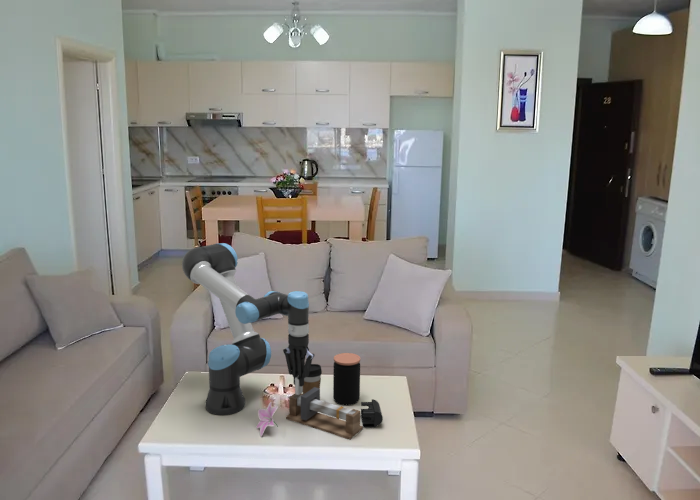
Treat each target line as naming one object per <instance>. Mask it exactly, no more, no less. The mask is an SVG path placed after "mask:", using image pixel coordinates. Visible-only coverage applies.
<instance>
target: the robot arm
mask: <svg viewBox="0 0 700 500" xmlns="http://www.w3.org/2000/svg"><path fill="white" fill-rule="evenodd" d="M238 260H239V259H238V254H237V252H236V251H235V249H234V247H232V246H231V244H230V245H229V244H228V243H224V242H222V243H213V244H209V245H204V246H197V247H194V248H191V249H190V250H188V251H187V252H186V253H185V254H184V255H183V257H182V261H181V263H182V264H181V267H182V268H181V269H182V271H183V273H184V275H185V277H186V278H188V280H189V281H191V282H192V283H193V284H196V285H198V284H199V285H200V286H202V287H203V288H204V289H205V290H208V292H210V293H211V294H213V295H214V296H215V297H217V298H218V299H219V301H220V305H221V307H222V309H223V310H222V311H223V313H224V314H225V317H226V321H227V324H228V326H229V329H230V332H231V334H232V338H233V339H232V341H231V344H221V345H219V346H217V347H215V348H213V349H211V351H210V352H209V353H208V360H207V361H208V362H207V366H208V382H209V383H208V384H209V389H208V392H207V396H206V400H205V402H204V403H205V410H206V411H207V412H208V413H210V414H212V415H216V416H217V415H218V416H229V415H234V414H237V413H238V412H240V411H242V410H243V409H244V408H245V405H246V398H245V395H244V393H243V391H242V388H241V377H243V376H245V375H248V374H251V373H253V372H256V371H259V370H261V369H263V368H265V367H267V365H268V364H269V363H270V361H271V358H272V348H271V345H270V343H269V341H268V340H267V339H266V338H264V337H261V335H260V333H259V332H256V330H254V326H253V325H252V324H253V323H255V322H258V321H260V320H263V319H266V318H270V317H272V316H276V315H283V316H286V317H287V324H288V325H287V328H288V329H287V331H288V332H287V333H288V335H287V340H288V346H287V347H286V348H284V349H282V351H283V354H284V355H285V359H286V360H285V361H286V366H287V371H288V374H289V375H290V376H292V377H293V385H294V394H296V395H299V394H303V385H304V378H306V377H307V376H309V372H310V367H311V364H313V363H312V362H313V360H314V357H315V353H311V352H310V348H309V342H310V339H309V338H310V337H309V333H310V326H309V325H310V323H309V321H310V320H309V314H310V313H309V307H310V303H309V295H308V294H309V293H307V292H305V291H299V290H297V291H291V292H289V293H288V294H286V293H284V292H283V293H282V292H280V291H273V290H272V291H271V290H270V291H268V292H266V293H265V294H264V296H263V297H258V298H255V297H253V296H252V295H250V294H248V293H247V292H246V291H245V290H243V289H241V287H239V285H238V283H237V281H236V278H235V274H236V272H237V269H236V267H237V266H238Z"/></svg>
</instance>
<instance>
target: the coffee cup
mask: <svg viewBox="0 0 700 500" xmlns="http://www.w3.org/2000/svg"><path fill="white" fill-rule="evenodd" d="M322 372H323V370H322V366H321V365H320V364H318V363H311V367H310V372H309V376H307V377H306V378H304V385H303V392H302V394H305V393H306V392H308V391H309V390H311V389H313V388H314V387H316V388H319V389H320V390H321V380H322V379H321V378H322Z"/></svg>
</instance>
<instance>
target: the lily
mask: <svg viewBox="0 0 700 500" xmlns="http://www.w3.org/2000/svg"><path fill="white" fill-rule="evenodd" d="M278 408H279V406H278V405H276V406H272V401H270V402H269V403H268V405H267V407H266V409H265V408H259V409H258V410H257V417H258V418H259V421H258V423H257V425H256V426H255V429H259V436H260V438H262V437H263V435H264V432H265V430H266V428H267V427H275V426H276V427H278V428H279V426H278V424H277V423H276V422H275V420H274V418H273V416H274V414H275V412H277V410H278Z"/></svg>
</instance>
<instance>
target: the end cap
mask: <svg viewBox="0 0 700 500" xmlns="http://www.w3.org/2000/svg"><path fill="white" fill-rule="evenodd" d="M360 406H361V407H368V408H360V421H361V426H363V429H370V428H371V429H372V428H373V429H374V428H377V427H379V426H380V425H381V424H382V423H383V419H384V416H383V414H382V413H383V412H382V410H381V406H380V403H379V402H378V400H376V399H371V401H361V402H360Z"/></svg>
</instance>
